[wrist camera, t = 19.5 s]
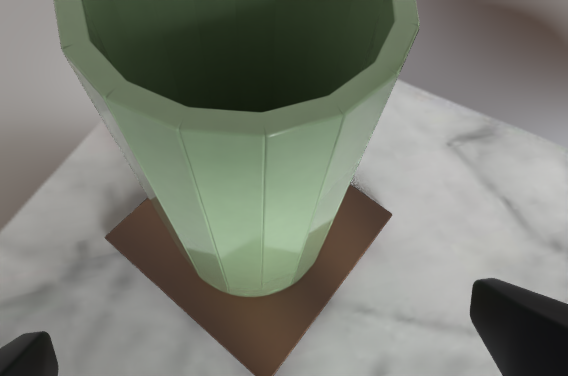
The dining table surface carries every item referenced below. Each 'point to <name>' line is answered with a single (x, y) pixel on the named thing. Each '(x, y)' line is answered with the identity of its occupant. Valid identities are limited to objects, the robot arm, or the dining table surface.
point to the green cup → (241, 116)
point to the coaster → (252, 310)
